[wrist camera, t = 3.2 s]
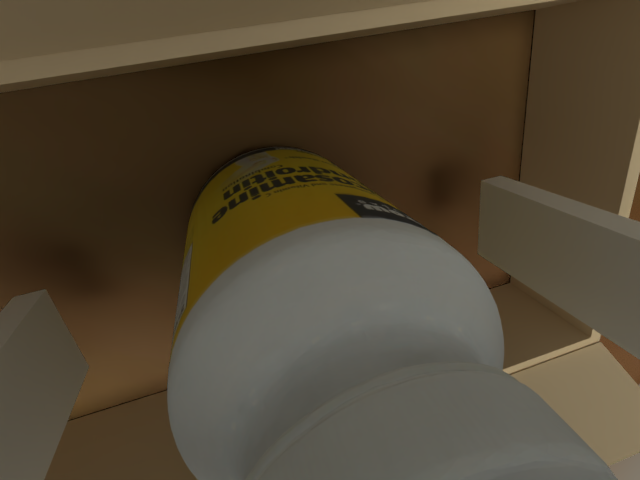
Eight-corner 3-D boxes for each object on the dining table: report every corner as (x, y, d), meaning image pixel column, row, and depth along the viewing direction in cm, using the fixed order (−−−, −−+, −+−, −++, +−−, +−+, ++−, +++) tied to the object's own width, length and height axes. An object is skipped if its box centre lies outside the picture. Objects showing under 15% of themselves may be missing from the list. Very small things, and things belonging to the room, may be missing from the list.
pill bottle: (383, 183, 15) (782, 423, 5) (314, 316, 16) (495, 713, 6) (225, 109, 12) (335, 287, 2) (161, 276, 14) (41, 850, 4)
